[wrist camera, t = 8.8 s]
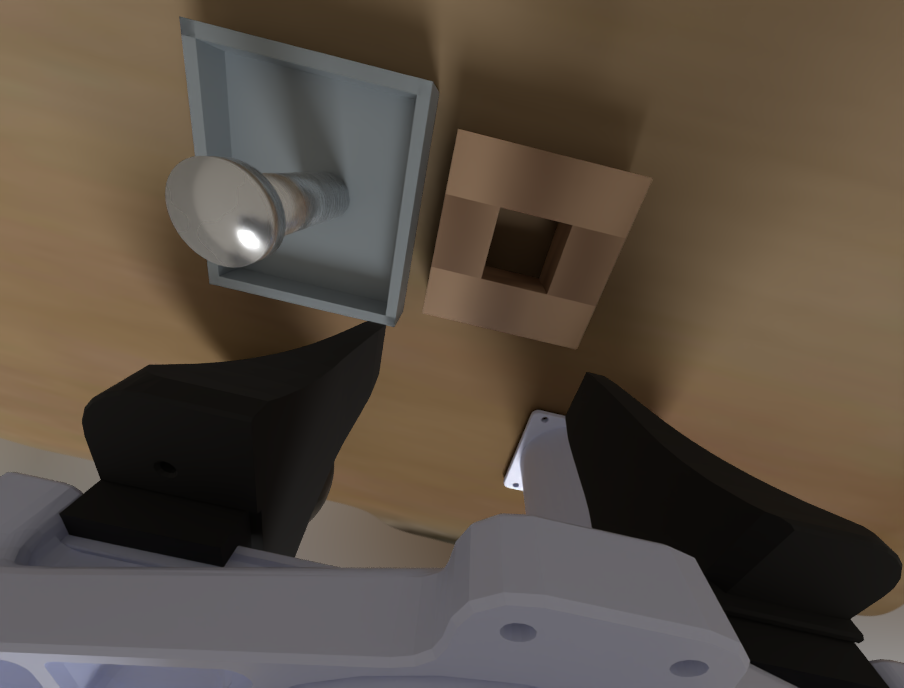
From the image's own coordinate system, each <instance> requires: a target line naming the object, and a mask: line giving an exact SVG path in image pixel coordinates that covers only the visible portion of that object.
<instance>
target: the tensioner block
mask: <svg viewBox="0 0 904 688" xmlns="http://www.w3.org/2000/svg"><path fill="white" fill-rule="evenodd" d="M652 180H653V178H650V177H646V176H643V175H639V174H635V173H631V172H627V171H623V170H619V169H615V168H611V167H607V166H603V165H599V164H595V163H591V162H587V161H583V160H579V159H575V158H571V157H568V156H564V155H560V154H556V153H552V152H548V151H544V150H540V149H536V148H532V147H528V146H524V145H520V144H516V143H512V142H508V141H504V140H500V139H496V138H493V137H489V136H485V135H481V134H477V133H473V132H469V131H465V130H461V129H458V132H457V137H456V142H455V147H454V152H453V157H452V163H451V168H450V173H449V178H448V183H447V188H446V193H445V198H444V204H443V209H442V214H441V219H440V224H439V229H438V234H437V239H436V245H435V250H434V255H433V260H432V265H431V270H430V275H429V281H428V286H427V291H426V296H425V301H424V306H423V311H422V313H423V314H428V315H432V316H436V317H440V318H445V319H449V320H453V321H457V322H462V323H466V324H470V325H474V326H478V327H483V328H487V329H491V330H495V331H500V332H504V333H508V334H512V335H517V336H521V337H525V338H529V339H533V340H538V341H542V342H546V343H550V344H555V345H559V346H563V347H567V348H572V349H576V350H577V348H578V346H579V343H580V341H581V339H582V337H583V334H584V332H585V330H586V328H587V326H588V323H589V321H590V319H591V317H592V314H593V312H594V310H595V308H596V305H597V303H598V301H599V299H600V296H601V294H602V292H603V290H604V287H605V285H606V283H607V281H608V279H609V276H610V274H611V272H612V270H613V267H614V265H615V263H616V261H617V258H618V256H619V254H620V252H621V249H622V247H623V245H624V243H625V240H626V238H627V236H628V234H629V232H630V229H631V227H632V225H633V223H634V220H635V218H636V216H637V214H638V211H639V209H640V207H641V205H642V202H643V200H644V198H645V196H646V193H647V191H648V189H649V187H650V184H651V182H652ZM500 207H501V208H505V209H509V210H513V211H517V212H521V213H525V214H529V215H533V216H537V217H541V218H545V219H549V220H553V221H557V222H558V225H557V228H556V231H555V234H554V237H553V240H552V242H551V245H550V248H549V251H548V254H547V257H546V260H545V262H544V265H543V268H542V271H541V274H540V277H539V278H535V277H531V276H526V275H522V274H518V273H514V272H510V271H506V270H502V269H497V268H493V267H489V266H485V263H486V259H487V255H488V251H489V248H490V244H491V240H492V236H493V233H494V229H495V225H496V222H497V218H498V214H499V210H500Z"/></svg>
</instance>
